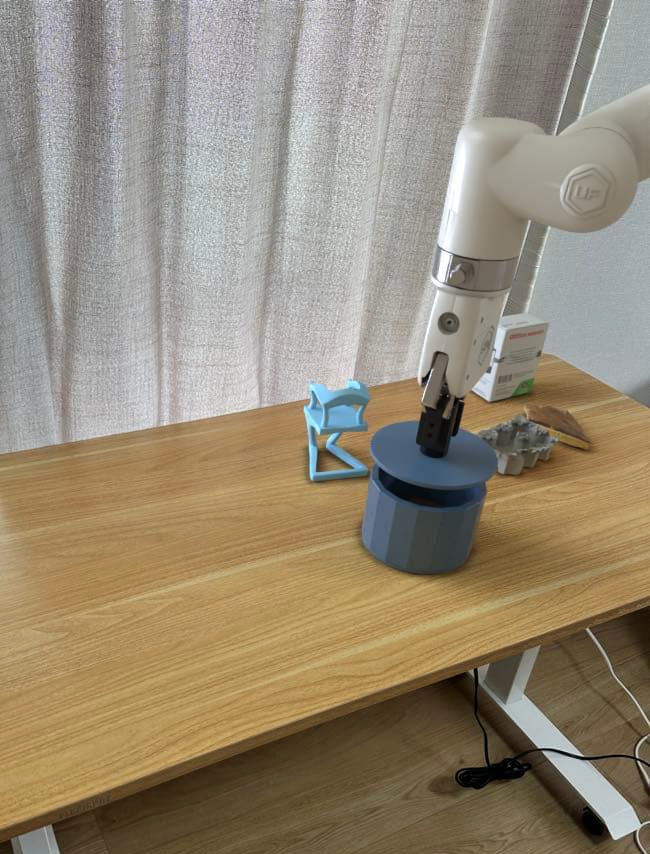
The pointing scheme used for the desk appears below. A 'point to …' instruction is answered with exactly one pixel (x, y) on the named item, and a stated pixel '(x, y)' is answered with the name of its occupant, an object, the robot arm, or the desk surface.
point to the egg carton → (518, 444)
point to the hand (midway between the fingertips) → (436, 438)
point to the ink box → (513, 357)
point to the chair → (336, 424)
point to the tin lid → (434, 456)
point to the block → (424, 502)
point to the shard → (558, 424)
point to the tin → (420, 524)
